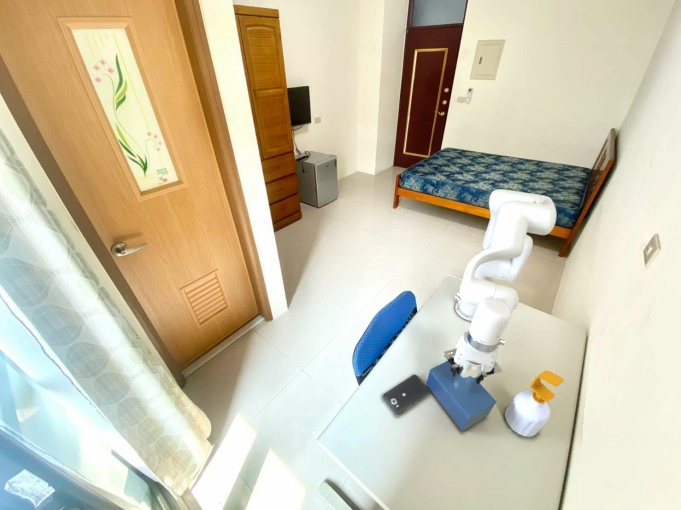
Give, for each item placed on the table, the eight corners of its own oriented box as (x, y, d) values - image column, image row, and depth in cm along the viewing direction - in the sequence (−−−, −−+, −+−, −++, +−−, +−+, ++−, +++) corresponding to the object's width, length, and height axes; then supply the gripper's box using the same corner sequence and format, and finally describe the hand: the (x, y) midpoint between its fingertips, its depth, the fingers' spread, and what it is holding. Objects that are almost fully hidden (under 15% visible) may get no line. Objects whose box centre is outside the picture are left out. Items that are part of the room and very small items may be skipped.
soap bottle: (524, 443, 83) (561, 400, 69) (498, 415, 90) (527, 371, 76) (543, 428, 87) (582, 384, 73) (516, 402, 93) (547, 357, 79)
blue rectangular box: (424, 385, 98) (430, 369, 92) (448, 373, 102) (455, 356, 96) (461, 433, 86) (469, 417, 80) (486, 417, 89) (496, 401, 84)
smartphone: (382, 396, 95) (382, 394, 95) (414, 374, 101) (415, 373, 101) (396, 416, 90) (397, 414, 89) (430, 392, 96) (430, 390, 96)
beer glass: (448, 388, 87) (460, 360, 78) (452, 370, 92) (463, 341, 83) (472, 399, 84) (487, 370, 76) (475, 379, 89) (489, 351, 81)
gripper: (515, 336, 76) (495, 374, 86) (448, 320, 80) (436, 357, 91) (520, 359, 70) (497, 397, 80) (447, 340, 75) (435, 378, 85)
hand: (465, 375), depth 85 cm, fingers closed on beer glass, 6 cm apart
